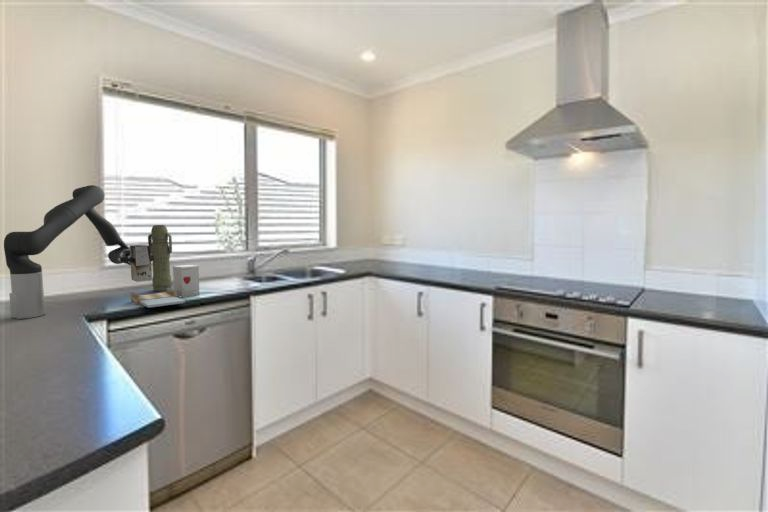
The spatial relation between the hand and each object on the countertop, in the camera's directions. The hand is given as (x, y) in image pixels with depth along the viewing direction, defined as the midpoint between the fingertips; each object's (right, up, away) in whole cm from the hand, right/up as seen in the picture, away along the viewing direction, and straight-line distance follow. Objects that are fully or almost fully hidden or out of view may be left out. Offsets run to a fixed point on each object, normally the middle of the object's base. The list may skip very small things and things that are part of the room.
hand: (142, 259), depth 177 cm
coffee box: (-2, -10, +3) cm, 10 cm away
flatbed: (+2, -19, +5) cm, 20 cm away
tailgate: (+6, -17, +1) cm, 18 cm away
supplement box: (+10, -18, +20) cm, 29 cm away
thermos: (-10, -17, +34) cm, 39 cm away
